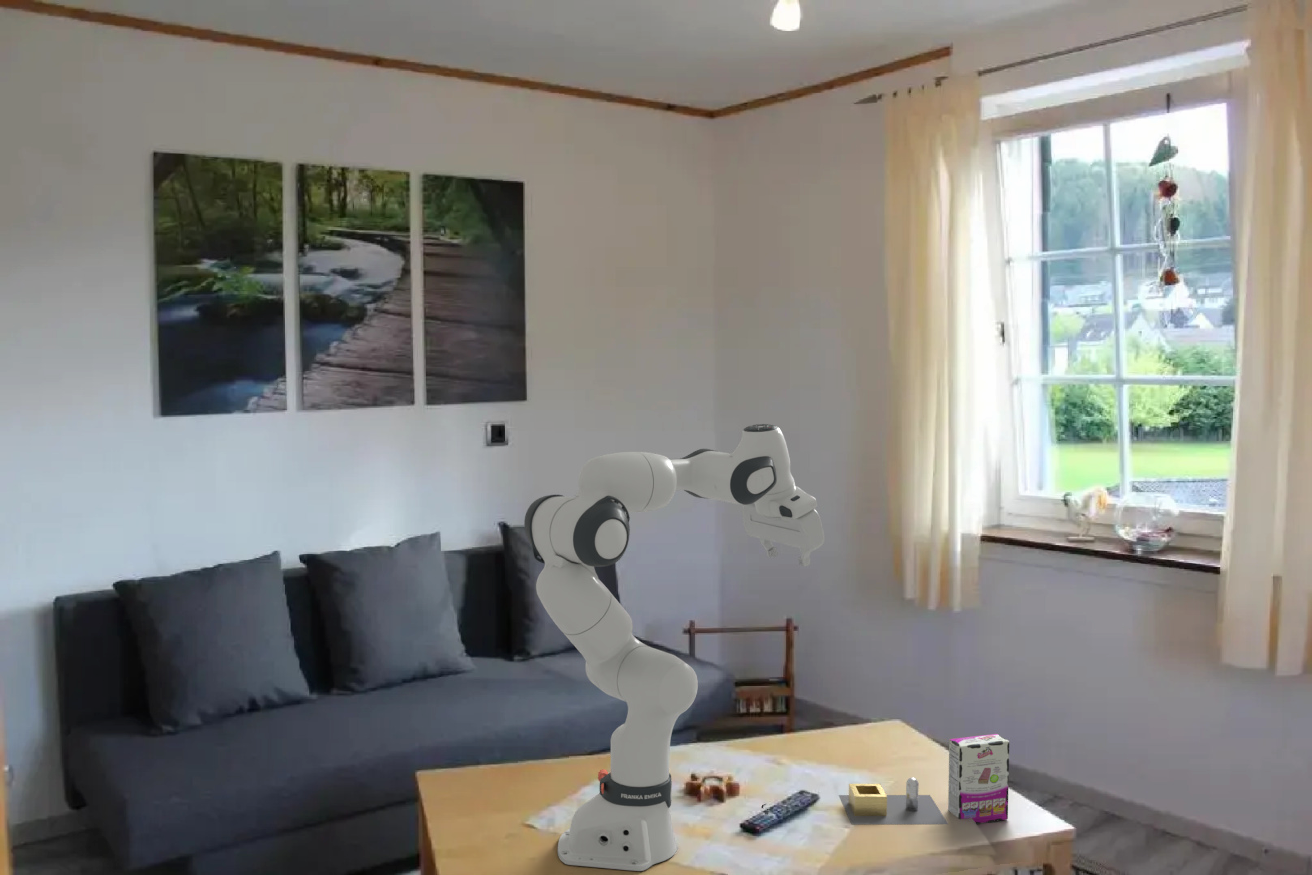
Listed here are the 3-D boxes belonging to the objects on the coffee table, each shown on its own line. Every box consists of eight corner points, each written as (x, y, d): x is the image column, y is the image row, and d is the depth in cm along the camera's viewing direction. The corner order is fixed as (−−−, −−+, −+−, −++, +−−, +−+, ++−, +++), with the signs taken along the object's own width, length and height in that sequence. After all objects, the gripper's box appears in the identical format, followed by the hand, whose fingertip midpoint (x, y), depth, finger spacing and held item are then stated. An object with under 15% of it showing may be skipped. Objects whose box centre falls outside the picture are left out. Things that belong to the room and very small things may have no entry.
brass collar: (854, 815, 229) (855, 796, 228) (848, 802, 235) (849, 783, 235) (886, 815, 229) (887, 796, 228) (879, 802, 235) (880, 783, 235)
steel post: (907, 811, 231) (908, 780, 230) (904, 806, 233) (905, 775, 233) (919, 811, 231) (920, 780, 230) (916, 806, 233) (917, 775, 233)
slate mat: (851, 831, 225) (851, 824, 225) (838, 801, 239) (838, 795, 239) (948, 831, 225) (948, 823, 225) (929, 801, 239) (929, 794, 239)
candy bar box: (994, 810, 235) (997, 732, 234) (1008, 820, 231) (1011, 741, 229) (945, 816, 232) (948, 737, 231) (958, 826, 228) (961, 746, 226)
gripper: (730, 498, 239) (743, 557, 243) (800, 512, 223) (813, 576, 227) (751, 486, 243) (764, 545, 247) (822, 500, 227) (835, 563, 231)
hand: (788, 560), depth 237 cm, fingers open, 8 cm apart
